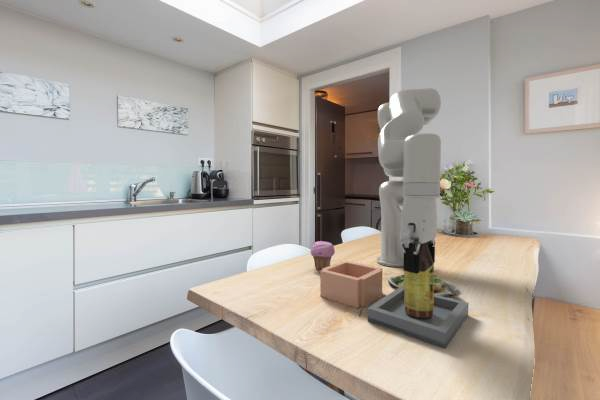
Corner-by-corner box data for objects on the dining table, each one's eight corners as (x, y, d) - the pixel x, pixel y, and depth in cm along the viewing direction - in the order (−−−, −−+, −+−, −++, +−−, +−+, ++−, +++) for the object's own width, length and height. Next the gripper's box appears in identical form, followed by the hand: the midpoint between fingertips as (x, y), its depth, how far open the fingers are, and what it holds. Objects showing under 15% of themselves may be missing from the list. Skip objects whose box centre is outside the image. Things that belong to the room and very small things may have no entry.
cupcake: (311, 264, 109) (311, 238, 108) (334, 265, 108) (334, 239, 107) (309, 271, 100) (309, 243, 99) (334, 272, 99) (334, 244, 98)
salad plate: (479, 296, 78) (479, 279, 78) (431, 307, 71) (431, 289, 71) (423, 275, 96) (423, 262, 96) (380, 283, 89) (380, 268, 89)
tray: (400, 297, 77) (401, 286, 77) (468, 315, 66) (468, 302, 66) (367, 321, 64) (367, 308, 64) (445, 348, 53) (445, 333, 53)
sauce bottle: (436, 321, 61) (438, 229, 60) (406, 318, 63) (407, 228, 62) (429, 308, 68) (430, 225, 67) (401, 306, 69) (402, 224, 68)
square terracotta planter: (344, 282, 89) (344, 260, 88) (384, 293, 80) (385, 268, 79) (318, 295, 79) (318, 270, 78) (360, 309, 70) (360, 281, 70)
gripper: (418, 190, 72) (417, 256, 73) (387, 191, 60) (386, 272, 61) (450, 190, 67) (448, 262, 68) (424, 192, 55) (423, 280, 56)
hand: (419, 266), depth 64 cm, fingers open, 9 cm apart
